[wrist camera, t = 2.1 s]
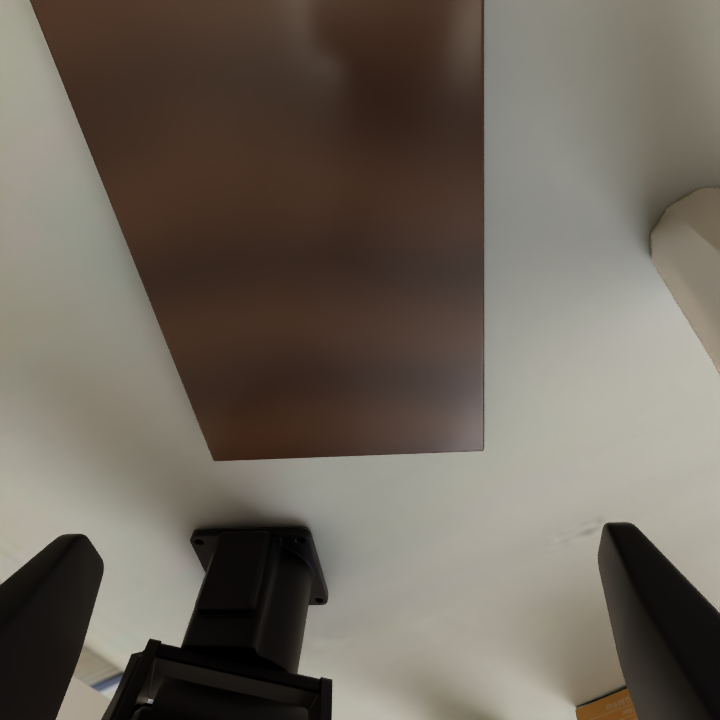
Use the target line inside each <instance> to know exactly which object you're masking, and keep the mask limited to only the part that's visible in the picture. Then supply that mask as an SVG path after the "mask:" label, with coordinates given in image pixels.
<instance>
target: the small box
mask: <svg viewBox="0 0 720 720" xmlns="http://www.w3.org/2000/svg"><path fill="white" fill-rule="evenodd" d="M576 716H577V720H638V718H637V715H636V712H635V709H634V706H633V703H632V700H631V697H630V694H629V691H628V688H627V689H624V690H622V691H619V692H617V693H615V694H612V695H610V696H607V697H605V698H602V699H600V700H597V701H595V702H592V703H590V704H587V705H582V706H580V707H577V708H576Z"/></svg>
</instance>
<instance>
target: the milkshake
mask: <svg viewBox="0 0 720 720" xmlns="http://www.w3.org/2000/svg"><path fill="white" fill-rule="evenodd" d="M650 239H651V256H652V263H653V265H654V267H655V269H656V270H657V272H658V274H659V275H660V277H661V278H662V280H663V282H664V283H665V285H666V287H667V288H668V290H669V292H670V293H671V295H672V297H673V298H674V300H675V301H676V303H677V305H678V306H679V308H680V310H681V311H682V313H683V315H684V316H685V318H686V319H687V321H688V323H689V324H690V326H691V328H692V329H693V331H694V332H695V334H696V336H697V337H698V339H699V340H700V342H701V344H702V345H703V347H704V349H705V350H706V352H707V354H708V355H709V357H710V359H711V361H712V362H713V364H714V366H715V368H716V369H717V371H718V373H719V375H720V188H700V189H698V190H697V191H695V192H693V193H691V194H690V195H688V196H686V197H684V198H682V199H681V200H679V201H677V202H675V203H673V204H672V205H670V206H669V207H668V208H667V210H666V211H665V213H664V214H663V216H662V217H661V219H660V220H659V222H658V224H657V225H656V227H655V228H654V230H653V231H652V233H651V234H650Z"/></svg>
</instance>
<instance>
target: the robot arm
mask: <svg viewBox="0 0 720 720" xmlns="http://www.w3.org/2000/svg"><path fill="white" fill-rule="evenodd" d="M190 542H191V544H192V546H193V548H194V550H195V552H196V554H197V556H198V558H199V560H200V562H201V565H202V567H203V569H204V571H205V573H206V574H205V577H204V580H203V583H202V586H201V588H200V591H199V594H198V597H197V600H196V603H195V607H194V610H193V613H192V616H191V619H190V622H189V625H188V628H187V631H186V634H185V637H184V640H183V643H182V645H181V648H179V647H175V646H170V645H166V644H162V643H161V641H158V640H154V639H149V641H148V643H147V645H146V648H145V650H143V652H139V653H135V654H132V655H131V657H130V659H129V662H128V664H127V667H126V669H125V672H124V674H123V677H122V679H121V681H120V684H119V686H118V688H117V690H116V693H115V695H114V697H113V699H112V701H111V702H110V704H109V706H108V708H107V710H106V712H105V713H104V715H103V717H102V719H101V720H331V716H332V679H327V678H323V677H321V678H320V679H317V678H313V677H308V676H304V675H299V674H297V673H298V667H299V660H300V654H301V648H302V642H303V636H304V629H305V623H306V617H307V611H308V605H324V604H326V603H327V601H328V591H327V587H326V584H325V580H324V577H323V573H322V570H321V566H320V563H319V559H318V556H317V552H316V549H315V545H314V542H313V538H312V535H311V532H310V531H309V530H308V529H305V528H253V529H204V530H195V531H193V533H192V536H191V539H190ZM598 565H599V571H600V575H601V580H602V585H603V589H604V594H605V599H606V603H607V608H608V612H609V617H610V622H611V626H612V631H613V636H614V640H615V645H616V649H617V654H618V658H619V662H620V666H621V669H622V672H623V676H624V679H625V682H626V685H627V688H628V691H629V694H630V697H631V700H632V703H633V706H634V709H635V712H636V715H637V718H638V720H720V613H719V612H718V611H717V610H716V609H715V608H714V607H713V606H712V605H711V604H710V603H709V602H708V601H707V599H706V598H705V597H704V596H703V595H702V594H701V593H700V592H699V591H698V590H697V589H696V588H695V587H694V586H693V585H692V584H691V583H690V582H689V581H688V580H687V579H686V578H685V577H684V576H683V575H682V574H681V573H680V571H679V570H678V569H677V568H676V567H675V566H674V565H673V564H672V563H671V562H670V561H669V560H668V559H667V558H666V557H665V556H664V555H663V554H662V553H661V552H660V551H659V550H658V549H657V548H656V547H655V546H654V545H653V543H652V542H651V541H650V540H649V539H648V538H647V537H646V536H645V535H644V534H643V533H642V532H641V531H640V530H639V529H638V528H637V527H636V526H635V525H633V524H631V523H628V522H617V523H606V524H605V525H604V527H603V530H602V535H601V540H600V546H599V551H598ZM103 570H104V564H103V560H102V558H101V557H100V555H99V554H98V552H97V551H96V549H95V548H94V546H93V545H92V543H91V542H90V540H89V539H88V537H87V536H85V535H83V534H65V535H61V536H59V537H58V538H56V539H55V540H54V541H53V542H51V543H50V544H49V545H48V546H47V547H45V548H44V549H43V550H42V551H41V552H39V553H38V554H37V555H36V556H35V557H33V558H32V559H31V560H30V561H29V562H27V563H26V564H25V565H24V566H23V567H21V568H20V569H19V570H18V571H17V572H15V573H14V574H13V575H12V576H11V577H9V578H8V579H7V580H6V581H5V582H3V583H2V584H1V585H0V720H55V719H56V717H57V714H58V711H59V709H60V707H61V704H62V701H63V699H64V696H65V694H66V691H67V688H68V686H69V683H70V681H71V678H72V676H73V673H74V670H75V667H76V665H77V662H78V659H79V656H80V653H81V650H82V647H83V643H84V640H85V636H86V633H87V629H88V626H89V622H90V619H91V615H92V611H93V608H94V604H95V601H96V597H97V594H98V590H99V587H100V583H101V580H102V576H103ZM148 699H153V700H154V701H153V704H149V703H147V702H148Z"/></svg>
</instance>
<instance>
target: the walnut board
mask: <svg viewBox="0 0 720 720" xmlns="http://www.w3.org/2000/svg"><path fill="white" fill-rule="evenodd" d="M30 2H31V4H32V7H33V9H34V12H35V14H36V17H37V19H38V22H39V24H40V27H41V29H42V32H43V34H44V37H45V39H46V42H47V44H48V47H49V49H50V52H51V54H52V57H53V59H54V62H55V64H56V67H57V69H58V72H59V74H60V77H61V79H62V82H63V84H64V87H65V89H66V92H67V94H68V97H69V99H70V102H71V104H72V107H73V109H74V112H75V114H76V117H77V119H78V122H79V125H80V127H81V130H82V132H83V135H84V137H85V140H86V142H87V145H88V147H89V150H90V152H91V155H92V157H93V160H94V162H95V165H96V167H97V170H98V172H99V175H100V177H101V180H102V182H103V185H104V187H105V190H106V192H107V195H108V197H109V200H110V202H111V205H112V207H113V210H114V212H115V215H116V217H117V220H118V222H119V225H120V227H121V230H122V232H123V235H124V237H125V240H126V242H127V245H128V247H129V250H130V252H131V255H132V257H133V260H134V262H135V265H136V267H137V270H138V272H139V275H140V277H141V280H142V282H143V285H144V287H145V290H146V292H147V295H148V297H149V300H150V302H151V305H152V308H153V310H154V313H155V315H156V318H157V320H158V323H159V325H160V328H161V330H162V333H163V335H164V338H165V340H166V343H167V345H168V348H169V350H170V353H171V355H172V358H173V360H174V363H175V365H176V368H177V370H178V373H179V375H180V378H181V380H182V383H183V385H184V388H185V390H186V393H187V395H188V398H189V400H190V403H191V405H192V408H193V410H194V413H195V415H196V418H197V420H198V423H199V425H200V428H201V430H202V433H203V435H204V438H205V440H206V443H207V445H208V448H209V450H210V453H211V455H212V458H213V460H214V461H234V460H260V459H286V458H312V457H338V456H364V455H390V454H416V453H442V452H468V451H483V450H484V0H30Z"/></svg>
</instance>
